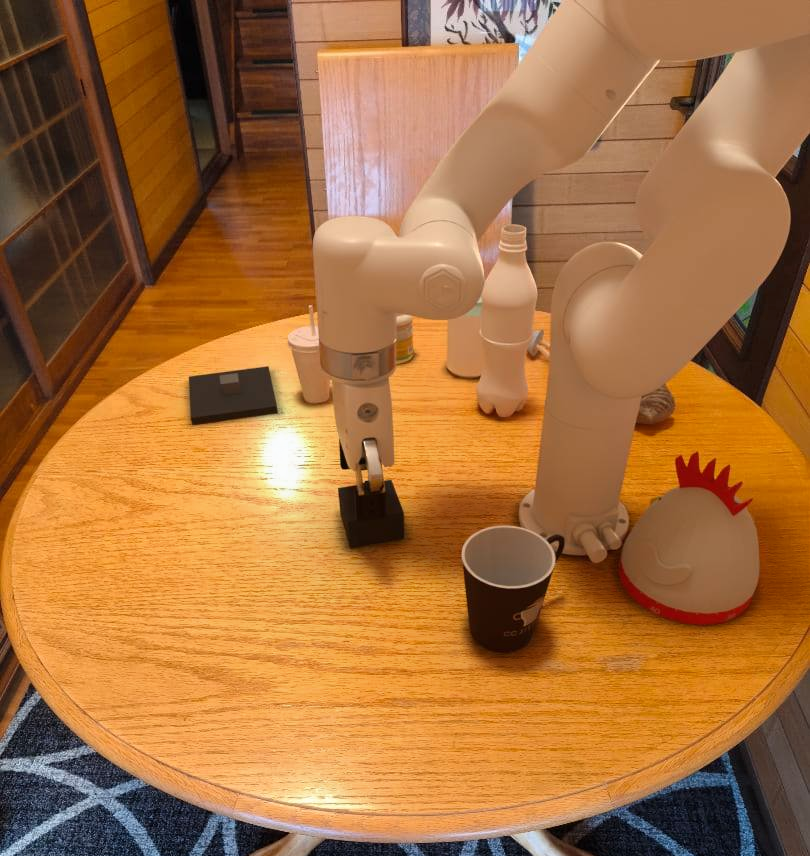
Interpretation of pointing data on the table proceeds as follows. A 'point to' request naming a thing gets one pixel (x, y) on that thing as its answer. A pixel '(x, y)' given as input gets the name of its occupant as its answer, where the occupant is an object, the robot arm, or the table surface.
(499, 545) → the coffee mug
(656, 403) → the seashell
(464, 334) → the can
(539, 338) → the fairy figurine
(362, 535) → the top pad
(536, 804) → the table surface
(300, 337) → the smoothie
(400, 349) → the supplement bottle
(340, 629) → the table surface
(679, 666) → the table surface
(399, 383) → the table surface
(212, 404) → the base pad
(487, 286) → the water bottle
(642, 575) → the kitchen timer
